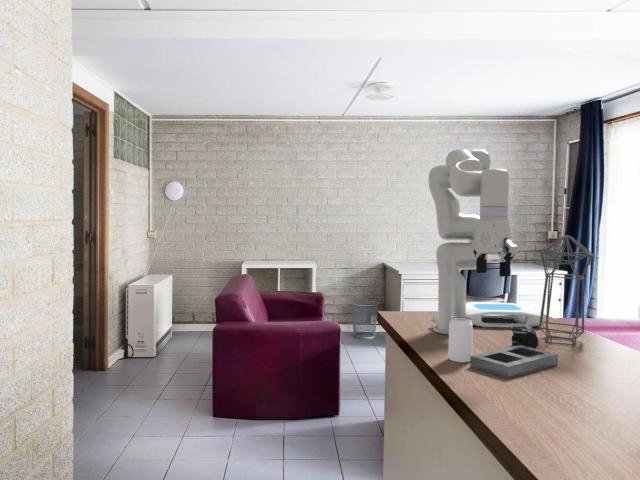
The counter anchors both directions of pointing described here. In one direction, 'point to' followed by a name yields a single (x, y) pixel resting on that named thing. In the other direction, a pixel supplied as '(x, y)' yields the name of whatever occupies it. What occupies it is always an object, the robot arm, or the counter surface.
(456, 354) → the can
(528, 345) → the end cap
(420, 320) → the counter surface
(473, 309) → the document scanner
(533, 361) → the grey windowed frame
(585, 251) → the geometric lantern
